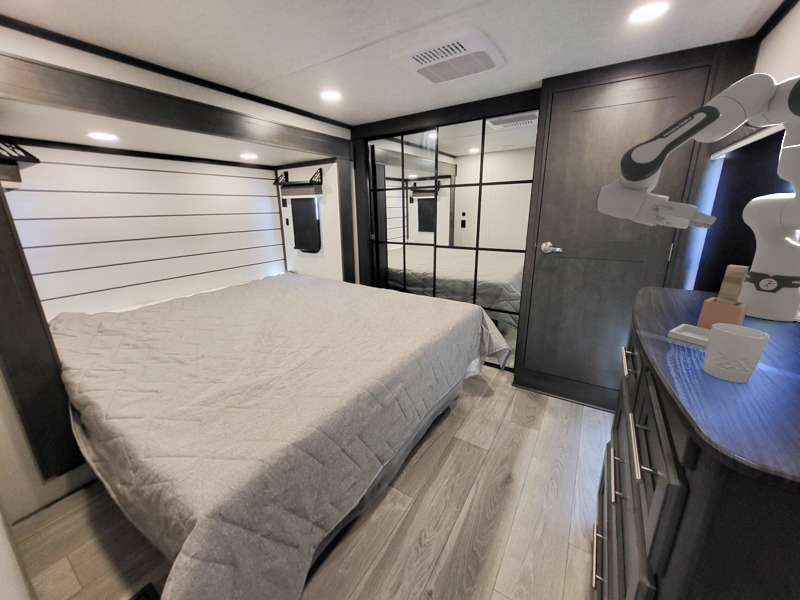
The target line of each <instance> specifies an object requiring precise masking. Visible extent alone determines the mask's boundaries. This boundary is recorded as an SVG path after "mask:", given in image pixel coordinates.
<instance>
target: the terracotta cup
mask: <svg viewBox="0 0 800 600" xmlns="http://www.w3.org/2000/svg"><path fill="white" fill-rule="evenodd" d="M717 298H718V297H713V296H712V297H710V298H707V299H705V300H704V301H703V304H702V307H701V311H700V314H699V316H698V320H697V324H696V327H700V328H705V329H709V330H711V329H712V325H713V324H717V323H723V324H733V325H739V326H743V322H744V320H745V318H746V317H745V316H746V315H745V314H746V311H747V309H748V306H749V303H744V302H738V301H737V304H736V306H735V305H730V304H724V303H719V302H716V301H717Z"/></svg>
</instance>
